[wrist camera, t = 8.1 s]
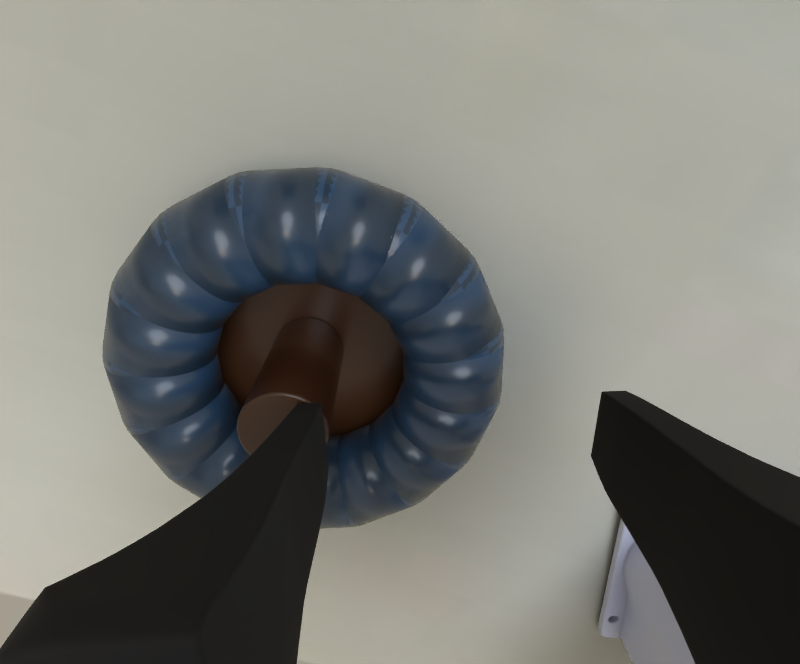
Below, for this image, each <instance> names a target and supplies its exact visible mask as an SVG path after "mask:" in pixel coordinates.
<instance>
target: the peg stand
mask: <svg viewBox="0 0 800 664" xmlns="http://www.w3.org/2000/svg"><path fill="white" fill-rule="evenodd" d="M217 352H218V357H219V361H220V366H221V370H222V375H223V379H224V382H225V383H226V384H227V386H228V387H229V389H230V390H231V391H232V393H233V394H234V396H235V397H236V398H237V400H238V401H239V403H240V404H241V405H242V409H241V411H240V413H239V416H238V419H237V434H238V438H239V440H240V443H241V445H242V446H243V448H244V449H245V450H246V451H247V453H249V454H250V455H251V454H252V453H253V452H254V451H255V450H256V449H257V448H258V447H259V446H260V445H261V444H262V443H263V442H264V441H265V440H266V439H267V437H268V436H269V435H270V434H271V433H272V432H273V431H274V430H275V429H276V427H277V426H278V425H279V424H280V423H281V422H282V421H283V419H284V418H285V417H286V416H287V415H288V414H289V413H290V411H291V410H292V409H293V408H294V407H295V406H296V405H297V404H304V403H322V412H323V421H324V429H325V438H326V445H327V443H328V439H329V436H333V435H344V434H346V433H349V432H351V431H353V430H356V429H358V428H361V427H363V426H366V425H368V424H371V423H373V422H374V421H375V420H376V419H377V418H378V417H379V416H380V415H381V414H382V413H383V412H384V411H385V410H386V409H388V408H389V407H390V406H391V405H392V404H393V403H394V401H395V398H396V396H397V393H398V391H399V389H400V386H401V384H402V382H403V379H404V369H403V350H402V348H401V346H400V344H399V342H398V340H397V338H396V337H395V335H394V333H393V331H392V329H391V327H390V325H389V323H388V321H386V320H385V319H384V318H383V317H382V316H380V315H379V314H378V313H377V312H376V311H374V310H373V309H372V308H371V307H370V306H368V305H367V304H366V303H365V302H364V301H362V300H361V299H360V298H359V297H357V296H354V295H351V294H348V293H345V292H342V291H339V290H336V289H333V288H330V287H327V286H324V285H321V284H318V283H315V284H294V285H276V286H273V287H271V288H269V289H267V290H265V291H263V292H261V293H258V294H256V295H254V296H252V297H250V298H248V299H246V300H244V301H243V302H242V303H241V304H240V305H239V306H238V308H237V309H236V310H235V311H234V312H233V314H232V315H231V316H230V317H229V318H228V320H227V321H226V322H225V323H224V325H223V329H222V333H221V338H220V342H219V346H218V350H217Z"/></svg>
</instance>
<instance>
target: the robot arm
mask: <svg viewBox="0 0 800 664" xmlns="http://www.w3.org/2000/svg"><path fill="white" fill-rule="evenodd" d="M591 457H592V460H593V462H594V465H595V467H596V470H597V472H598V475H599V477H600V480H601V482H602V484H603V487H604V489H605V491H606V493H607V495H608V496H609V498H610V500H611V502H612V503H613V505H614V507H615V509H616V510H617V512H618V514H619V515H620V517H621V520H620V524H619V529H618V534H617V539H616V543H615V548H614V553H613V557H612V562H611V567H610V571H609V576H608V581H607V585H606V590H605V595H604V600H603V604H602V609H601V614H600V618H599V623H598V630H599V632H600V634H601V636H603V637H605V638H619V637H620V638H621V640H622V642H623V645H624V647H625V649H626V651H627V654H628V656H629V658H630V660H631V662H632V664H800V477H798V476H795V475H793V474H791V473H788V472H786V471H783V470H781V469H779V468H776V467H774V466H772V465H769V464H767V463H764V462H762V461H760V460H758V459H756V458H753V457H751V456H749V455H747V454H745V453H743V452H741V451H739V450H737V449H735V448H733V447H731V446H729V445H727V444H725V443H723V442H721V441H719V440H717V439H715V438H713V437H711V436H709V435H707V434H705V433H703V432H702V431H700V430H698V429H696V428H694V427H692V426H691V425H689V424H687V423H685V422H683V421H681V420H680V419H678V418H676V417H674V416H672V415H671V414H669V413H667V412H665V411H664V410H662V409H660V408H658V407H656V406H655V405H653V404H651V403H649V402H647V401H645V400H643V399H642V398H640V397H638V396H636V395H634V394H631V393H629V392H627V391H608V392H602V393H601V399H600V405H599V411H598V417H597V423H596V429H595V435H594V441H593V447H592V453H591ZM328 469H329V465H328V456H327V447H326V438H325V429H324V421H323V412H322V403H304V404H297V405H296V406H295V407H294V408H293V409H292V410H291V411H290V413H289V414H288V415H287V416H286V417H285V418H284V419H283V421H282V422H281V423H280V424H279V425H278V426H277V427H276V429H275V430H274V431H273V432H272V433H271V434H270V435H269V436H268V437H267V439H266V440H265V441H264V442H263V443H262V444H261V445H260V446H259V447H258V448H257V449H256V450H255V451H254V452H253V453H252V454H251V455H250V456H249V457H248V458H247V459H246V460H245V461H244V462H243V463H242V464H241V465H240V466H239V467H238V468H237V469H236V470H235V471H234V472H233V473H232V474H231V475H229V476H228V477H227V478H226V479H225V480H224V481H222V482H221V483H220V484H219V485H218V486H216V487H215V488H214V489H213V490H211V491H210V492H209V493H208V494H206V495H205V496H204V497H202V498H201V499H200V500H199V501H197V502H196V503H194V504H193V505H192V506H190V507H189V508H187V509H186V510H184V511H183V512H181V513H180V514H178V515H177V516H175V517H174V518H173V519H171V520H170V521H168V522H167V523H165V524H164V525H162V526H161V527H159V528H158V529H156V530H154V531H153V532H151V533H149V534H148V535H146V536H144V537H143V538H141V539H139V540H138V541H136V542H134V543H133V544H131V545H129V546H127V547H125V548H124V549H122V550H120V551H118V552H117V553H115V554H113V555H111V556H109V557H107V558H105V559H103V560H102V561H100V562H98V563H96V564H93V565H91V566H89V567H87V568H85V569H83V570H81V571H79V572H77V573H75V574H73V575H71V576H69V577H67V578H65V579H63V580H61V581H59V582H57V583H54V584H52V585H50V586H48V587H46V588H45V589H44V590H43V591H42V592H41V594H40V595H39V596H38V597H37V599H36V600H35V601H34V603H33V604H32V606H31V607H30V608H29V610H28V611H27V612H26V613H25V615H24V616H23V618H22V619H21V620H20V622H19V623H18V625H17V626H16V627H15V629H14V630H13V632H12V633H11V634H10V636H9V637H8V638H7V640H6V641H5V643H4V644H3V645H2V647H1V648H0V664H297V655H298V646H299V638H300V630H301V622H302V614H303V606H304V599H305V594H306V588H307V583H308V578H309V574H310V569H311V565H312V561H313V556H314V552H315V547H316V543H317V538H318V534H319V529H320V525H321V520H322V516H323V511H324V506H325V501H326V491H327V480H328Z"/></svg>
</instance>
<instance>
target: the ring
mask: <svg viewBox="0 0 800 664" xmlns="http://www.w3.org/2000/svg"><path fill="white" fill-rule="evenodd" d="M315 283H318V284H321V285H324V286H327V287H330V288H333V289H336V290H339V291H342V292H345V293H348V294H351V295H354V296H357V297H359V298H360V299H361V300H362V301H364V302H365V303H366V304H367V305H368V306H370V307H371V308H372V309H373V310H374V311H376V312H377V313H378V314H379V315H380V316H382V317H383V318H384V319H385V320H386V321H388V323H389V325H390V327H391V329H392V331H393V333H394V335H395V337H396V338H397V340H398V342H399V344H400V346H401V348H402V350H403V369H404V379H403V382H402V384H401V386H400V389H399V391H398V393H397V396H396V398H395V401H394V403H393V404H392V405H391V406H390V407H389V408H388V409H386V410H385V411H384V412H383V413H382V414H381V415H380V416H379V417H378V418H377V419H376V420H375V421H374V422H373V423H371V424H368V425H366V426H363V427H361V428H358V429H356V430H353V431H351V432H349V433H346V434H344V435H333V436H329V439H328V443H327V445H326V447H327V456H328V465H329V469H328V480H327V491H326V501H325V506H324V511H323V516H322V520H321V525H320V529H321V528H339V527H354V526H360V525H363V524H366V523H369V522H371V521H374V520H377V519H379V518H382V517H385V516H387V515H390V514H393V513H395V512H398V511H401V510H404V509H406V508H409V507H411V506H414V505H416V504H417V503H419V502H421V501H422V500H424V499H425V498H426V497H427V496H429V495H430V494H431V493H432V492H433V491H435V490H436V489H437V488H438V487H439V486H441V485H442V484H443V483H444V482H445V481H447V480H448V479H449V478H450V477H451V476H453V475H454V474H455V473H456V472H457V471H459V470H460V469H461V468H462V467H463V466H464V465H465V464H466V463H467V462H468V461H469V459H470V458H471V456H472V455H473V453H474V451H475V449H476V447H477V445H478V443H479V442H480V440H481V438H482V436H483V434H484V432H485V430H486V428H487V426H488V424H489V423H490V421H491V419H492V417H493V415H494V413H495V411H496V409H497V407H498V404H499V401H500V395H501V387H502V369H503V350H504V330H503V326H502V323H501V319H500V316H499V314H498V312H497V309H496V307H495V304H494V302H493V299H492V297H491V294H490V292H489V289H488V287H487V285H486V282H485V280H484V277H483V275H482V272H481V270H480V267H479V265H478V263H477V261H476V260H475V258H474V256H473V255H472V254H471V253H470V252H469V250H468V249H467V248H466V247H465V246H464V245H463V244H461V243H460V242H459V241H458V240H457V239H456V238H455V237H454V236H453V235H452V234H451V233H450V232H449V231H448V230H447V229H446V228H445V227H444V226H443V225H442V224H440V223H439V222H438V221H437V220H436V219H435V218H434V217H433V216H432V215H431V214H430V213H429V212H428V211H427V210H426V209H425V208H424V207H423V206H421V205H420V204H419V203H417V202H416V201H415V200H413V199H412V198H410V197H408V196H406V195H404V194H401V193H399V192H396V191H393V190H391V189H388V188H385V187H383V186H380V185H377V184H375V183H372V182H369V181H367V180H364V179H361V178H359V177H356V176H353V175H351V174H348V173H345V172H343V171H339V170H335V169H331V168H319V167H318V168H296V169H274V170H252V171H246V172H239V173H237V174H234V175H231V176H229V177H227V178H225V179H223V180H221V181H219V182H217V183H215V184H213V185H211V186H209V187H207V188H206V189H204V190H202V191H200V192H198V193H196V194H194V195H192V196H190V197H188V198H186V199H184V200H182V201H180V202H178V203H177V204H175V205H173V206H171V207H170V208H168V209H167V210H165V211H164V212H162V213H161V214H160V215H159V216H158V217H157V218H156V219H155V220H154V221H153V223H152V224H151V225H150V227H149V228H148V230H147V231H146V232H145V234H144V235H143V237H142V238H141V239H140V241H139V242H138V244H137V245H136V246H135V248H134V249H133V251H132V252H131V253H130V255H129V256H128V258H127V259H126V260H125V262H124V263H123V265H122V266H121V267H120V269H119V270H118V272H117V274H116V276H115V278H114V280H113V282H112V285H111V289H110V295H109V302H108V310H107V317H106V325H105V333H104V340H103V363H104V367H105V370H106V373H107V376H108V379H109V382H110V385H111V388H112V391H113V394H114V397H115V400H116V403H117V406H118V409H119V412H120V415H121V418H122V420H123V422H124V425H125V426H126V428H127V430H128V431H129V432H130V434H131V435H132V436H133V437H134V438H135V439H136V441H137V442H138V443H139V444H140V445H141V446H142V448H143V449H144V450H145V451H146V452H147V453H148V455H149V456H150V457H151V458H152V459H153V460H154V462H155V463H156V464H157V465H158V466H159V467H160V469H161V470H162V471H163V472H164V473H165V474H166V476H167V477H168V478H169V479H171V480H172V481H173V482H175V483H176V484H178V485H179V486H181V487H183V488H185V489H186V490H188V491H190V492H191V493H193V494H195V495H196V496H198V497H200V498H202V497H204V496H205V495H206V494H208V493H209V492H210V491H211V490H213V489H214V488H215V487H216V486H218V485H219V484H220V483H221V482H222V481H224V480H225V479H226V478H227V477H228V476H229V475H231V474H232V473H233V472H234V471H235V470H236V469H237V468H238V467H239V466H240V465H241V464H242V463H243V462H244V461H245V460H246V459H247V458H248V457H249V456H250V454H249V453H247V451H246V450H245V449H244V448H243V446H242V445H241V443H240V440H239V438H238V434H237V419H238V416H239V413H240V411H241V409H242V405H241V404H240V403H239V401H238V400H237V398H236V397H235V396H234V394H233V393H232V391H231V390H230V389H229V387H228V386H227V384H226V383H225V382H224V379H223V375H222V370H221V366H220V361H219V357H218V352H217V350H218V346H219V342H220V338H221V333H222V329H223V325H224V323H225V322H226V321H227V320H228V318H229V317H230V316H231V315H232V314H233V312H234V311H235V310H236V309H237V308H238V306H239V305H240V304H241V303H242V302H243V301H244V300H246V299H248V298H250V297H252V296H254V295H256V294H258V293H261V292H263V291H265V290H267V289H269V288H271V287H273V286H276V285H294V284H315Z"/></svg>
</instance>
